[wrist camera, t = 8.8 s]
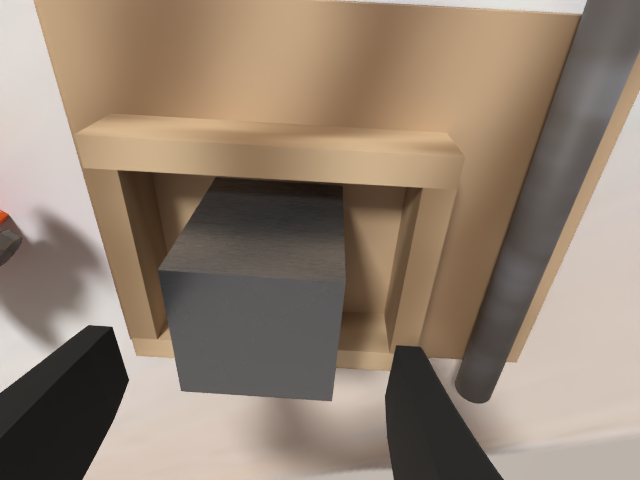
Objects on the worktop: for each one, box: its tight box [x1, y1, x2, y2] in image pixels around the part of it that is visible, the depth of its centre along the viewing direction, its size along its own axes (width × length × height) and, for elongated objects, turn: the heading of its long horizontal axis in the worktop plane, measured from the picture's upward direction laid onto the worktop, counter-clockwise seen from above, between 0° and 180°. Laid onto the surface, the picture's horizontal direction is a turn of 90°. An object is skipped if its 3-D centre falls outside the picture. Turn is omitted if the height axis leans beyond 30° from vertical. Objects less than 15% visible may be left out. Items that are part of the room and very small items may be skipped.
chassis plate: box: [33, 0, 640, 403], centre depth 15 cm, size 18×16×3 cm
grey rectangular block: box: [158, 177, 346, 401], centre depth 13 cm, size 4×4×6 cm
